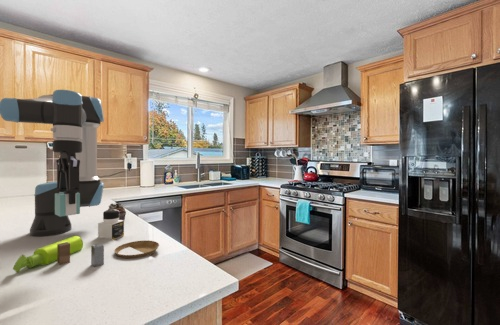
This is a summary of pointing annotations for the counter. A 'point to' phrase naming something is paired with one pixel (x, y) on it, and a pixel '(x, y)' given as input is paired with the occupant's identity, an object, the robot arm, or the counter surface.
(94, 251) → the post grey
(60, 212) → the teal foam cube
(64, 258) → the post walnut
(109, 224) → the medicine bottle
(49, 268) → the counter surface
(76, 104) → the robot arm
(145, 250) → the plant saucer
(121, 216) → the cupcake
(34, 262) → the soap dispenser
